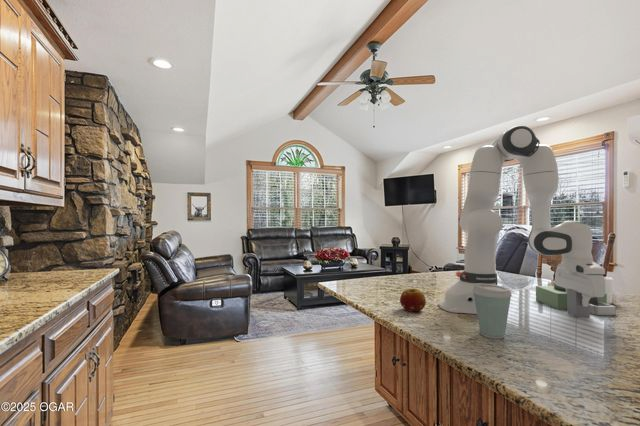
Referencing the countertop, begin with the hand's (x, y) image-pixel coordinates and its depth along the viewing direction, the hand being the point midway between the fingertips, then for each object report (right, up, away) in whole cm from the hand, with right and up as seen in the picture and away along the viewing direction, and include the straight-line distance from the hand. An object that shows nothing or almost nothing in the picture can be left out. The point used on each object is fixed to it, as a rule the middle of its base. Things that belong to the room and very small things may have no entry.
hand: (578, 303), depth 117 cm
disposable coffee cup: (-41, -4, -19) cm, 46 cm away
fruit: (-58, -5, +8) cm, 58 cm away
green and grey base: (+8, -4, +11) cm, 14 cm away
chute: (0, -4, 0) cm, 4 cm away
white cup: (+24, -5, +18) cm, 31 cm away
